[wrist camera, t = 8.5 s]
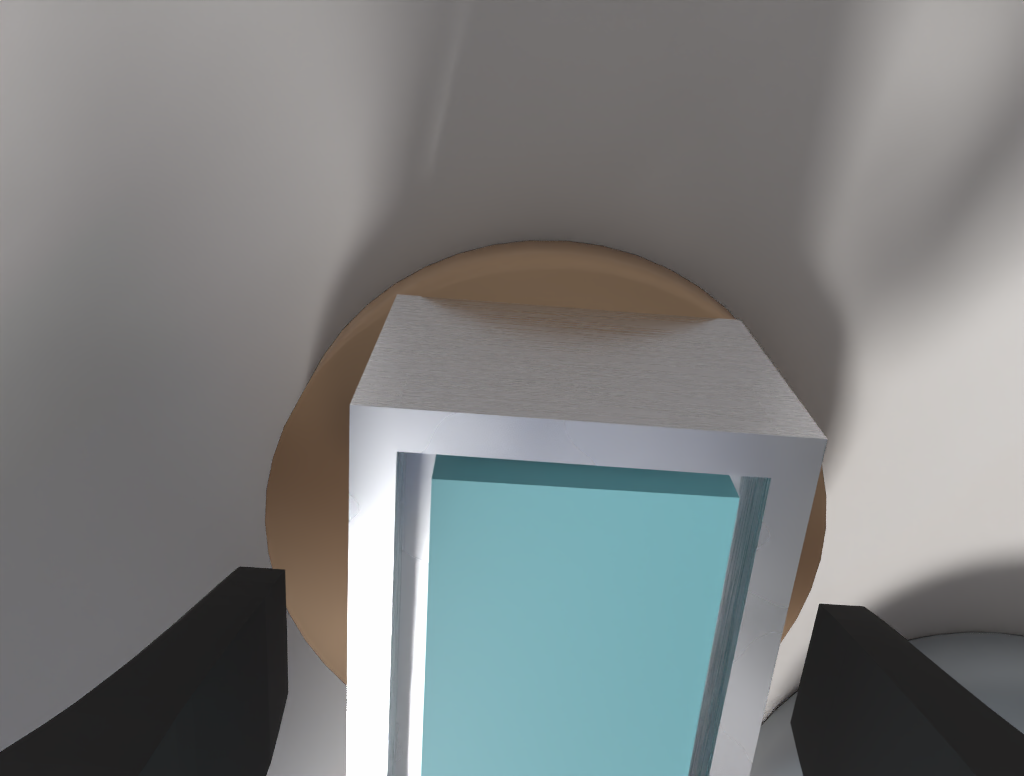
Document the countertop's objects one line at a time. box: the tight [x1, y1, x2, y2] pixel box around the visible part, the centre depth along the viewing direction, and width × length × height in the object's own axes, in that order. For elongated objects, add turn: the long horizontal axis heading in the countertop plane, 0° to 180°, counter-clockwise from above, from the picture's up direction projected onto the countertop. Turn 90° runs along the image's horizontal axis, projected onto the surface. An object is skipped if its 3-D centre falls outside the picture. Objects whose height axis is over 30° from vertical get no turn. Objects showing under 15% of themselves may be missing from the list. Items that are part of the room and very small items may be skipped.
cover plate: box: [421, 454, 740, 776], centre depth 12 cm, size 6×3×1 cm, turn 176°
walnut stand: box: [265, 241, 826, 685], centre depth 15 cm, size 9×9×2 cm
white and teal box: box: [347, 294, 827, 776], centre depth 13 cm, size 8×5×4 cm, turn 176°
